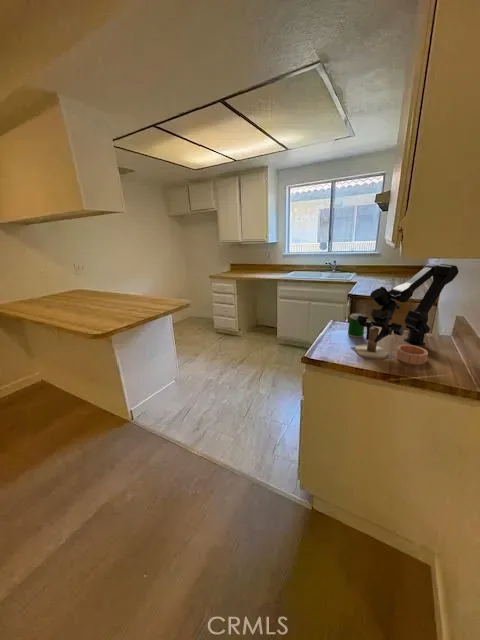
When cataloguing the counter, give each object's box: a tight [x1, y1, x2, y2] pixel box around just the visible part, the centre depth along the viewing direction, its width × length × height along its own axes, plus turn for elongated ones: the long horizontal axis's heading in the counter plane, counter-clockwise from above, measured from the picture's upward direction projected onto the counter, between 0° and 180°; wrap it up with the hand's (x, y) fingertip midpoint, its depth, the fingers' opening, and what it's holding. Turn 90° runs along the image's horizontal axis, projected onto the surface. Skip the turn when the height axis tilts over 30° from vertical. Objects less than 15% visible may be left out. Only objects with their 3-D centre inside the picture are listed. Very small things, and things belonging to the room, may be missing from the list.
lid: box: [354, 326, 389, 360], centre depth 117 cm, size 13×13×12 cm
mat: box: [349, 346, 395, 361], centre depth 119 cm, size 13×13×1 cm
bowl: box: [394, 344, 429, 366], centre depth 112 cm, size 11×11×4 cm
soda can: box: [347, 312, 366, 339], centre depth 137 cm, size 8×8×12 cm
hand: (371, 340), depth 116 cm, fingers closed on lid, 4 cm apart
